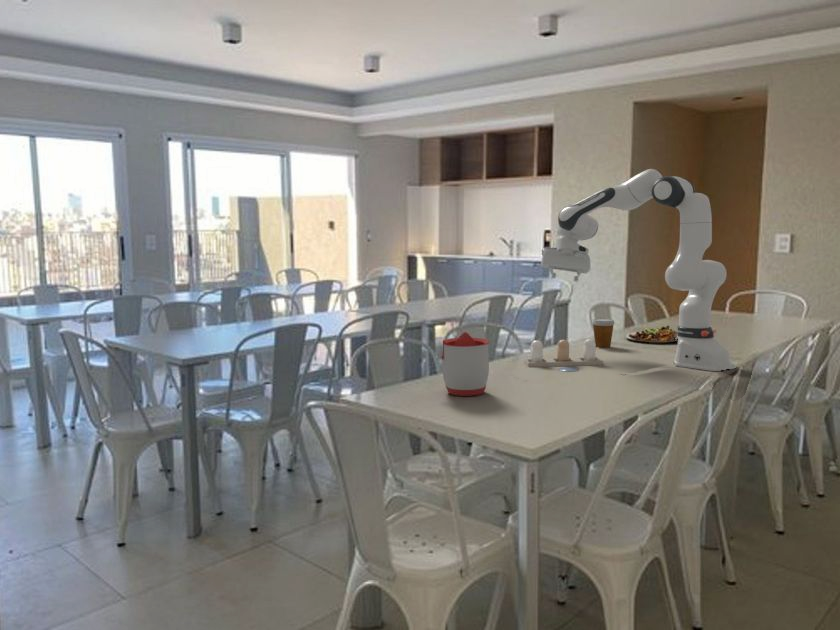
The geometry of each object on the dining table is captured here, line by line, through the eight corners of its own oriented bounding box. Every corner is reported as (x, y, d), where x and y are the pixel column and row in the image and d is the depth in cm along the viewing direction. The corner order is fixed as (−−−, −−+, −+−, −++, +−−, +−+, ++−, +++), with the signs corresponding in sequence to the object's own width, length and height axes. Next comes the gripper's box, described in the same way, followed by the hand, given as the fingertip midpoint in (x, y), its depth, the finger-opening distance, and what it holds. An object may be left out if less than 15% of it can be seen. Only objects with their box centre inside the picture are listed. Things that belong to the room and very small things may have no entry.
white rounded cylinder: (597, 363, 265) (598, 339, 263) (589, 364, 262) (589, 340, 261) (589, 361, 268) (589, 337, 267) (580, 362, 266) (581, 338, 265)
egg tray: (598, 363, 270) (598, 357, 269) (604, 367, 262) (604, 361, 261) (523, 365, 269) (523, 359, 268) (526, 369, 261) (526, 363, 260)
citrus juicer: (436, 387, 236) (435, 328, 233) (488, 386, 235) (487, 328, 233) (436, 399, 220) (435, 336, 218) (491, 398, 220) (491, 335, 217)
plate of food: (661, 333, 339) (661, 321, 338) (702, 341, 313) (702, 328, 312) (612, 339, 330) (611, 327, 329) (650, 348, 304) (650, 334, 303)
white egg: (545, 364, 264) (545, 340, 263) (536, 366, 262) (536, 341, 261) (537, 362, 268) (537, 338, 267) (528, 364, 265) (528, 340, 264)
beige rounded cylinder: (571, 363, 264) (571, 339, 263) (562, 365, 262) (563, 341, 261) (563, 362, 268) (563, 338, 267) (554, 363, 266) (554, 339, 265)
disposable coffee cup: (596, 344, 312) (596, 317, 310) (617, 346, 306) (617, 318, 305) (588, 347, 304) (588, 320, 303) (609, 349, 299) (609, 321, 297)
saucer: (584, 373, 253) (584, 369, 253) (567, 376, 249) (567, 372, 249) (568, 369, 260) (568, 366, 260) (552, 372, 256) (552, 369, 256)
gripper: (543, 242, 292) (541, 272, 287) (592, 249, 292) (590, 279, 287) (540, 249, 298) (538, 278, 293) (588, 256, 298) (586, 285, 293)
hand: (564, 279), depth 290 cm, fingers open, 8 cm apart
